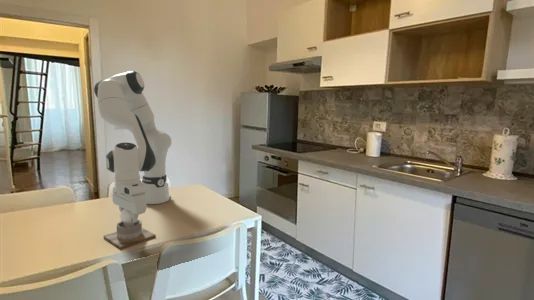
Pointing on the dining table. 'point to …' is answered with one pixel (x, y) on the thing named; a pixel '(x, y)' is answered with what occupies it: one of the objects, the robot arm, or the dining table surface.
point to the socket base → (129, 242)
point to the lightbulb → (126, 218)
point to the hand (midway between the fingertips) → (129, 219)
